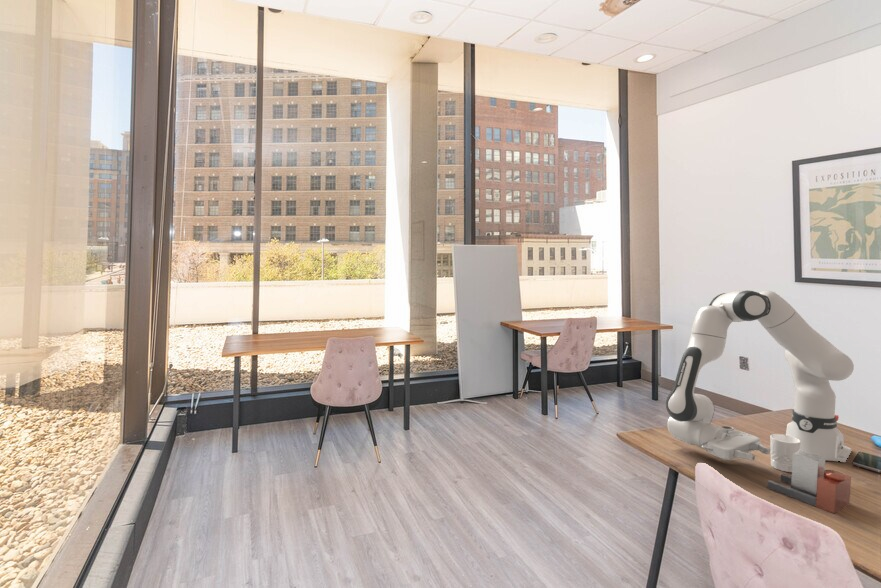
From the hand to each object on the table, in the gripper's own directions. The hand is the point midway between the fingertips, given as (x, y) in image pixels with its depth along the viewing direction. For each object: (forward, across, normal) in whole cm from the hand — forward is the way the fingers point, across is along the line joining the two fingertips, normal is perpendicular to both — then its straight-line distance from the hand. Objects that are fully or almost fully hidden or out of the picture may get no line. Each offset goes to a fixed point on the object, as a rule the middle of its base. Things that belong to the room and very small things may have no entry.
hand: (761, 454), depth 138 cm
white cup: (0, +15, +8) cm, 17 cm away
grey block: (+12, 0, +8) cm, 14 cm away
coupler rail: (+12, 0, +8) cm, 14 cm away
